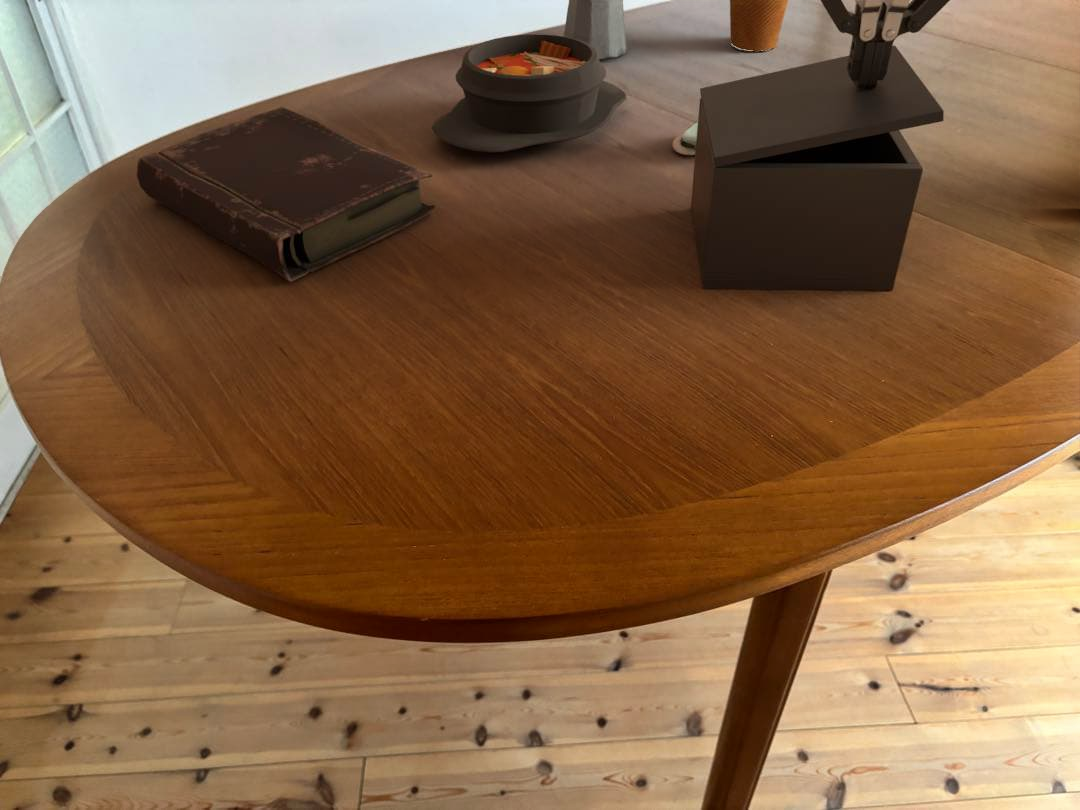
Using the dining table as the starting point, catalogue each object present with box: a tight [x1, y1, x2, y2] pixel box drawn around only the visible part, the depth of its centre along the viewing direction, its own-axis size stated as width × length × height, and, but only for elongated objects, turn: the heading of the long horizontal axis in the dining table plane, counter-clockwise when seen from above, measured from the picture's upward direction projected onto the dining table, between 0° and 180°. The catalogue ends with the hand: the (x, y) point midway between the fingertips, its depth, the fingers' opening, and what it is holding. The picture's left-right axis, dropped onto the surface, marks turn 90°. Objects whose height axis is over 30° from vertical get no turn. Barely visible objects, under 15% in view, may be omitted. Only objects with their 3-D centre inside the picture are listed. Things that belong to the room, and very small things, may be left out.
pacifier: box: [672, 121, 698, 156], centre depth 99 cm, size 7×6×6 cm
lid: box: [699, 45, 945, 167], centre depth 75 cm, size 17×15×1 cm
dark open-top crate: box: [690, 97, 924, 292], centre depth 80 cm, size 16×15×11 cm
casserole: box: [431, 33, 627, 154], centre depth 105 cm, size 25×19×8 cm
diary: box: [136, 106, 436, 283], centre depth 91 cm, size 19×25×5 cm
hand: (864, 84), depth 74 cm, fingers closed
